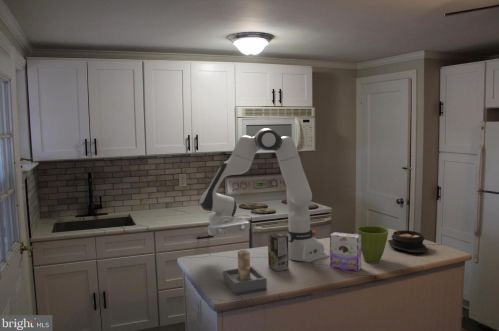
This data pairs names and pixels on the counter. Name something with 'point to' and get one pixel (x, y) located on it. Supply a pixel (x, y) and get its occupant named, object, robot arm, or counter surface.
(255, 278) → the box
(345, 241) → the candy box
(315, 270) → the counter surface
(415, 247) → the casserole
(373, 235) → the flower pot
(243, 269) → the peg
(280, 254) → the coffee box
